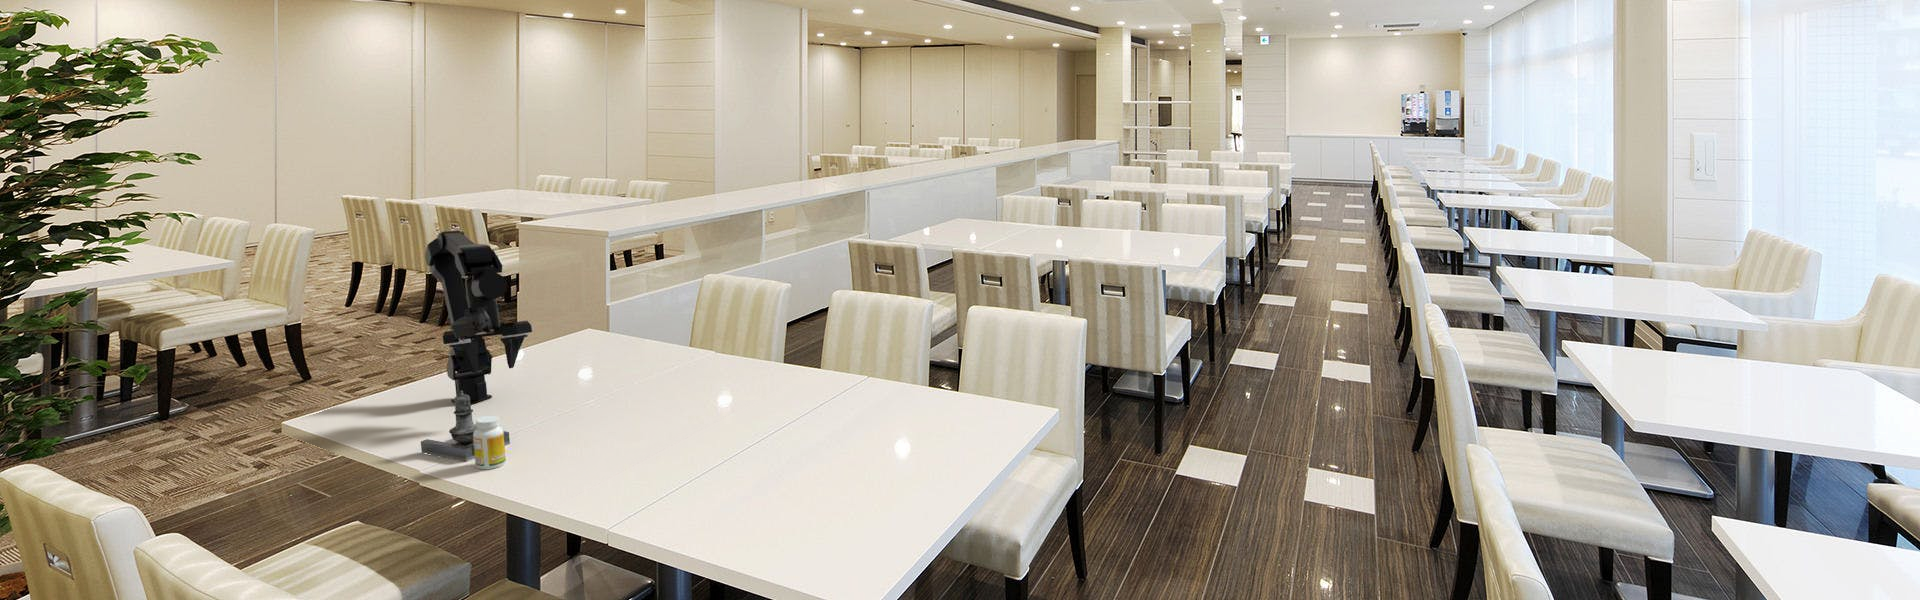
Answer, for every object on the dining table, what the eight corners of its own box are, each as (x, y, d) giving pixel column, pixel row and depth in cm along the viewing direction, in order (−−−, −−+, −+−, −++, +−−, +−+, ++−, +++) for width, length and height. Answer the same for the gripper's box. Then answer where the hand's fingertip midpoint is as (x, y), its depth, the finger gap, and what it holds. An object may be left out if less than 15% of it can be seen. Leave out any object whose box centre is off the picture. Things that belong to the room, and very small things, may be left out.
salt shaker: (461, 452, 186) (456, 396, 183) (444, 447, 189) (438, 391, 186) (488, 443, 191) (483, 388, 188) (471, 438, 194) (466, 384, 191)
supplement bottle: (472, 470, 178) (467, 424, 176) (481, 460, 183) (476, 415, 181) (501, 469, 179) (497, 422, 177) (509, 459, 184) (505, 414, 182)
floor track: (421, 453, 187) (420, 441, 186) (466, 436, 197) (465, 424, 196) (466, 461, 183) (465, 449, 182) (509, 443, 193) (508, 431, 192)
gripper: (418, 309, 198) (430, 380, 198) (494, 298, 194) (506, 370, 195) (455, 306, 209) (466, 373, 209) (528, 295, 205) (538, 364, 206)
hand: (493, 370), depth 204 cm, fingers open, 9 cm apart
